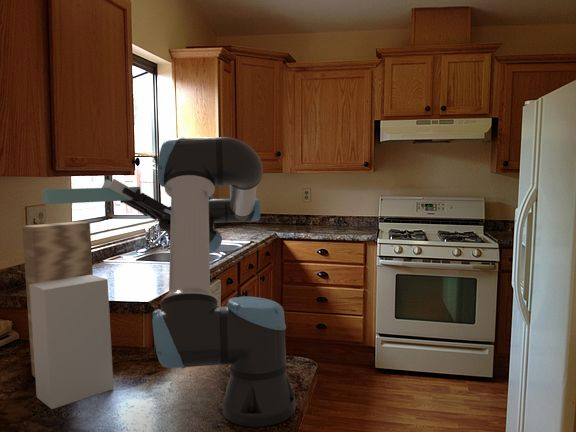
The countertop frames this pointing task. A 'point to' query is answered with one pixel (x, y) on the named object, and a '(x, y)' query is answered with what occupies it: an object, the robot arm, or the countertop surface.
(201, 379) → the countertop surface
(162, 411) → the countertop surface
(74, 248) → the oak block
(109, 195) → the teal block
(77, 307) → the step block
